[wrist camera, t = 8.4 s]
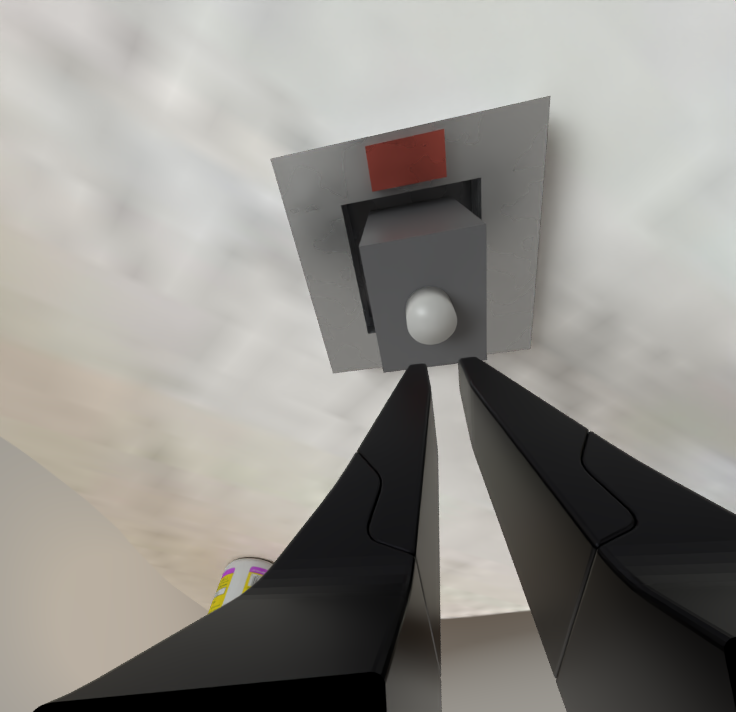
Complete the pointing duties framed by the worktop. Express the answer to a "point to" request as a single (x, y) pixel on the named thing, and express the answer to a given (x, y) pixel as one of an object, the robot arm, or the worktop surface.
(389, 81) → the worktop surface
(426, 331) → the plug
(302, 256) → the socket plate
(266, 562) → the supplement bottle
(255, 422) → the worktop surface
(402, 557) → the robot arm
